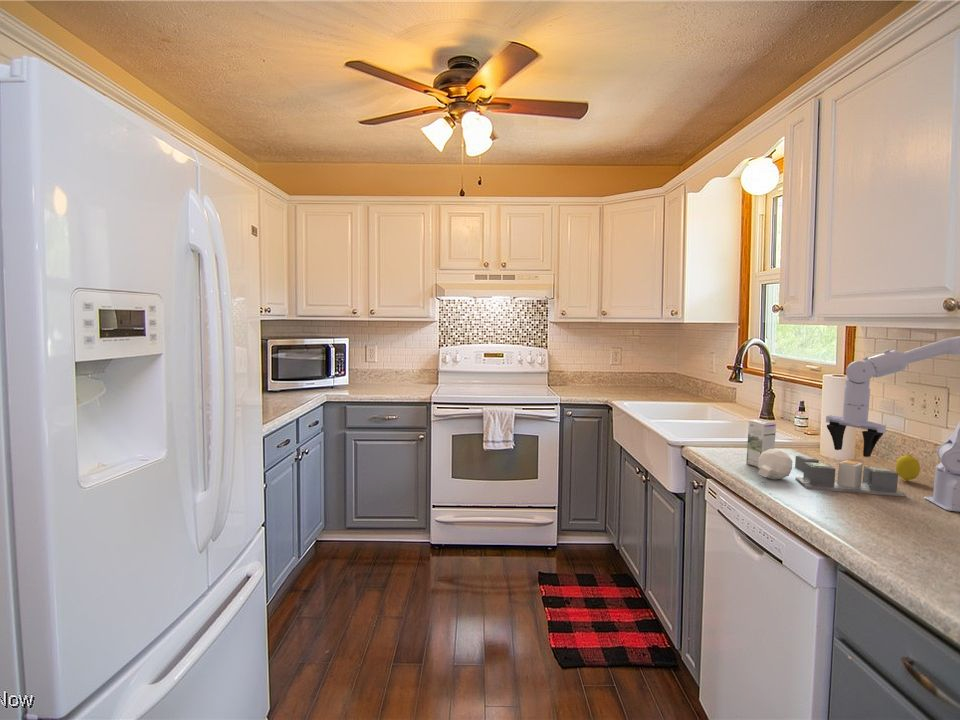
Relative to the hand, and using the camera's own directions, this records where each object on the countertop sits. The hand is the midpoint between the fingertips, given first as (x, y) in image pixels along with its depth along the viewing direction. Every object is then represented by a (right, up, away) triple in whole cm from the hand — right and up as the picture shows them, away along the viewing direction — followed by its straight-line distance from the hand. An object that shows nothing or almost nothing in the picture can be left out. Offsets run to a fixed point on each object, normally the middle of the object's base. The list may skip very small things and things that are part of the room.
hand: (852, 452), depth 146 cm
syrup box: (-14, -8, +21) cm, 27 cm away
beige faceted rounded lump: (-19, -9, +8) cm, 22 cm away
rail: (-1, -10, +1) cm, 10 cm away
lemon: (+21, -10, +8) cm, 25 cm away
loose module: (0, -9, +1) cm, 9 cm away
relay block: (-2, -9, +17) cm, 19 cm away
